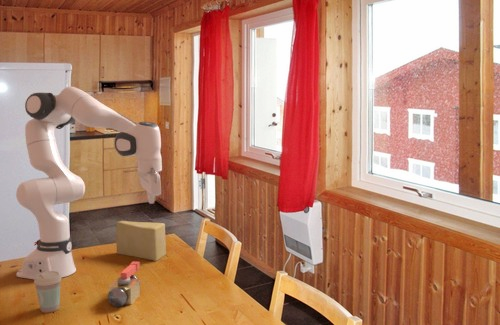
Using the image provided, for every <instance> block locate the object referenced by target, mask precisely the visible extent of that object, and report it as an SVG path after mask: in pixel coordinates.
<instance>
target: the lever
mask: <svg viewBox="0 0 500 325" xmlns="http://www.w3.org/2000/svg"><path fill="white" fill-rule="evenodd" d="M140 263H141V262H140V261H131V263H129V265H128V266H127V267H126V268H124V269H123V270H122V271H121V272H120V277H117V278H118V279H117V278H116V279H117V281H118V284H120V285H125V284H129V283H130V276H132V275H134V274H136V272H138V271H139V270H140V269H141V264H140Z"/></svg>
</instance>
